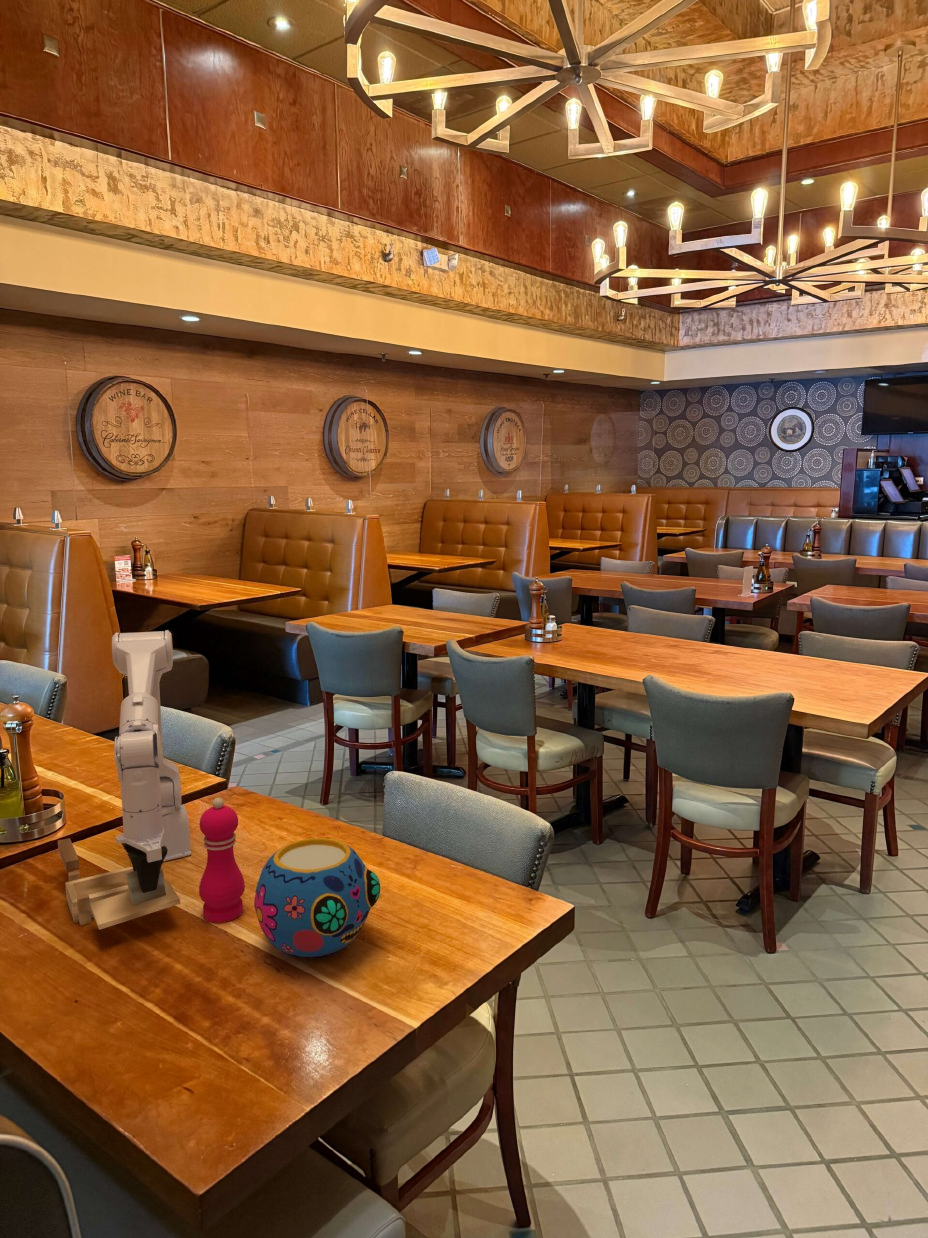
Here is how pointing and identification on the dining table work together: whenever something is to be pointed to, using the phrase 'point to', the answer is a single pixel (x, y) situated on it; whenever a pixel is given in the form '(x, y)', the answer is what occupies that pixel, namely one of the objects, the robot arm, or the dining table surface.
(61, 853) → the rectangular bar
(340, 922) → the ceramic pot
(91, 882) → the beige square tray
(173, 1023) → the dining table surface
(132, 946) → the dining table surface
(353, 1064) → the dining table surface
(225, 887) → the pepper mill
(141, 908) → the lid
